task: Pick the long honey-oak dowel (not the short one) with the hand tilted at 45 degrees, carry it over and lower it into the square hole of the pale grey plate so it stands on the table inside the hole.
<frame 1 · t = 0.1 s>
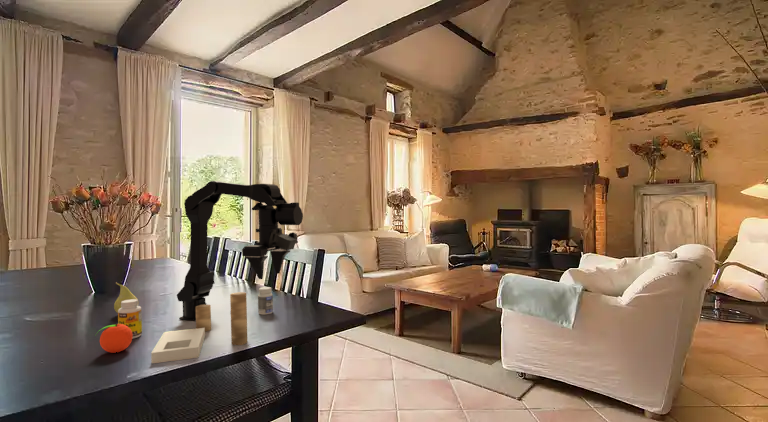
hand: (269, 276, 122), 15 cm above the table, tool pointing down, fingers open, 9 cm apart
clementine: (114, 352, 101), on the table
fruit: (125, 315, 134), on the table
pill bottle: (265, 313, 134), on the table
hole plate: (180, 348, 102), on the table
long dowel: (239, 342, 106), on the table
short dowel: (203, 329, 117), on the table
supplement bottle: (130, 337, 112), on the table
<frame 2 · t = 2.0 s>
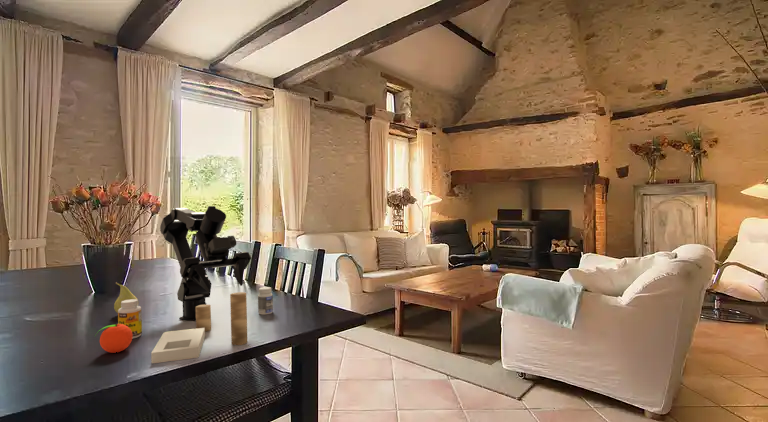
hand: (226, 287, 111), 13 cm above the table, tool tilted 45°, fingers open, 9 cm apart
nothing on the table moved.
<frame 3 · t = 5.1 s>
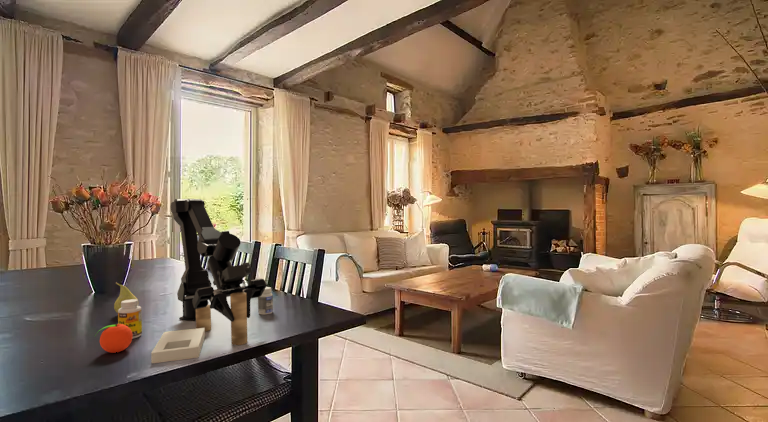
hand: (241, 319, 105), 7 cm above the table, tool tilted 45°, fingers closed on long dowel, 4 cm apart
long dowel: (239, 342, 106), on the table, touching gripper
everything else where it was.
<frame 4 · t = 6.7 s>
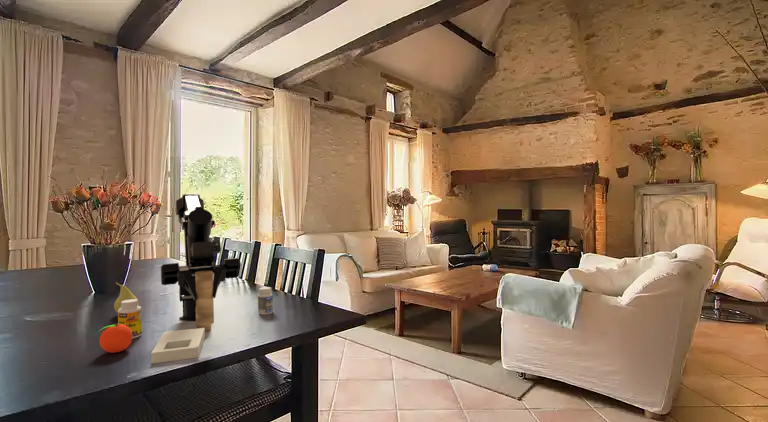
hand: (205, 298, 99), 13 cm above the table, tool tilted 45°, fingers closed on long dowel, 4 cm apart
long dowel: (205, 323, 101), point 7 cm above the table, touching gripper
everything else where it was.
when the fingers open (8 cm above the table, at t = 8.8 s): long dowel drops 1 cm, resting in hole plate.
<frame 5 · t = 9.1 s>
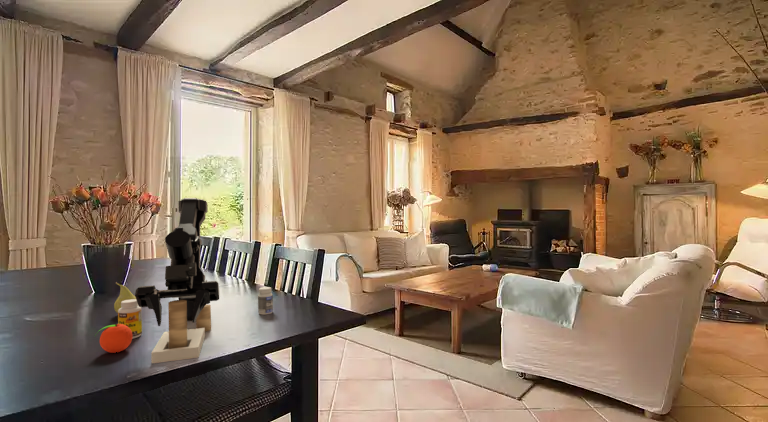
hand: (176, 323, 97), 8 cm above the table, tool tilted 45°, fingers open, 7 cm apart
long dowel: (178, 354, 98), resting in hole plate
everything else where it was.
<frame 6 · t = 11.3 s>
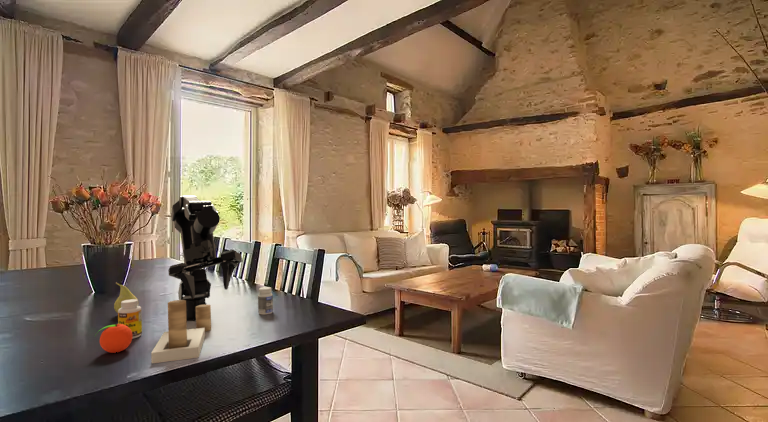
hand: (209, 293, 110), 12 cm above the table, tool tilted 25°, fingers open, 9 cm apart
nothing on the table moved.
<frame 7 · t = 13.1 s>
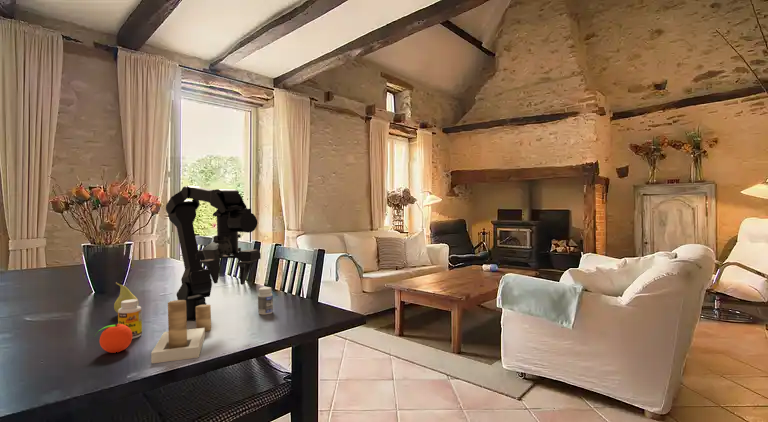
hand: (228, 283, 119), 13 cm above the table, tool pointing down, fingers open, 9 cm apart
nothing on the table moved.
at the end: long dowel 0.1 cm from the target spot on the hole plate, point 0.0 cm above the hole plate's base; long dowel tilted 0°; the gripper is holding nothing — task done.
